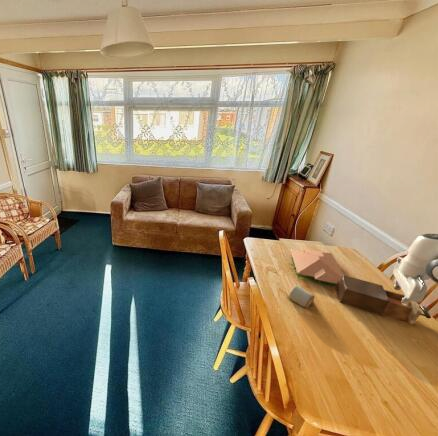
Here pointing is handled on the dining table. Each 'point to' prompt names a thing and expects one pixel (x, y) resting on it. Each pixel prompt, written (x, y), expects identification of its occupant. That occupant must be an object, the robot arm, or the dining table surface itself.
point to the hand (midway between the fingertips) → (399, 295)
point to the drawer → (404, 309)
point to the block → (394, 300)
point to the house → (317, 266)
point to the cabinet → (362, 294)
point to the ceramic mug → (301, 296)
